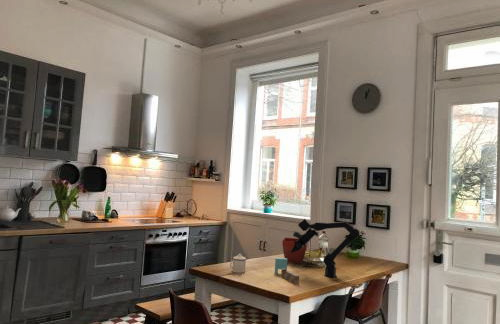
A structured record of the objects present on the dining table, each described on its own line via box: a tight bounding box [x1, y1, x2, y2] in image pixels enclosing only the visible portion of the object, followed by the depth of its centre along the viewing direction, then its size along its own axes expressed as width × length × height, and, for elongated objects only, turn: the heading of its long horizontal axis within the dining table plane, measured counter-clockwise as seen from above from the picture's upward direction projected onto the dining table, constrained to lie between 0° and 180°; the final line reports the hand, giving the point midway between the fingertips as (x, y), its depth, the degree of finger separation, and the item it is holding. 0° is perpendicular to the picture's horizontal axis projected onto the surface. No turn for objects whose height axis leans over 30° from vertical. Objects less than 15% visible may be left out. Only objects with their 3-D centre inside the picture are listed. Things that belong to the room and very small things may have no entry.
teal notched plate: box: [274, 257, 288, 274], centre depth 272 cm, size 8×2×10 cm, turn 90°
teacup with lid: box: [229, 253, 247, 274], centre depth 270 cm, size 12×9×12 cm
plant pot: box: [281, 237, 309, 264], centre depth 318 cm, size 19×19×17 cm
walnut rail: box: [280, 269, 300, 285], centre depth 254 cm, size 20×2×5 cm, turn 21°
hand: (292, 251), depth 281 cm, fingers open, 9 cm apart
